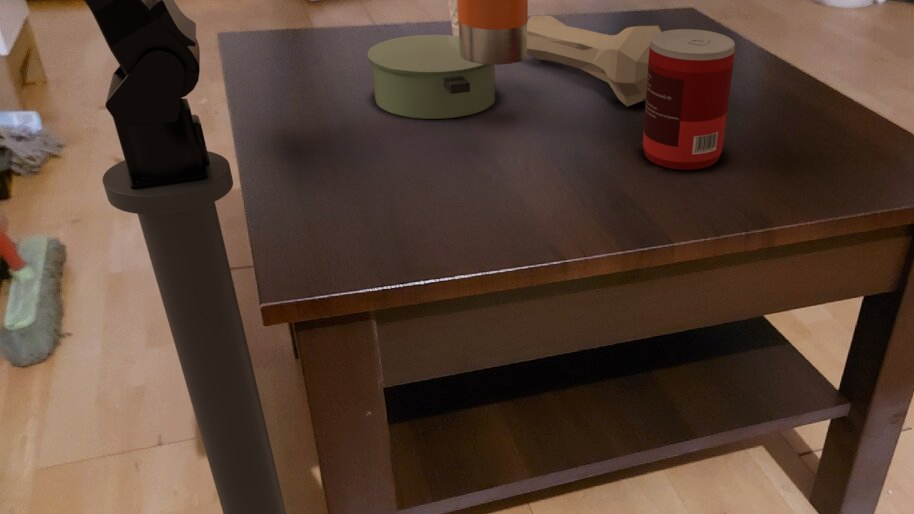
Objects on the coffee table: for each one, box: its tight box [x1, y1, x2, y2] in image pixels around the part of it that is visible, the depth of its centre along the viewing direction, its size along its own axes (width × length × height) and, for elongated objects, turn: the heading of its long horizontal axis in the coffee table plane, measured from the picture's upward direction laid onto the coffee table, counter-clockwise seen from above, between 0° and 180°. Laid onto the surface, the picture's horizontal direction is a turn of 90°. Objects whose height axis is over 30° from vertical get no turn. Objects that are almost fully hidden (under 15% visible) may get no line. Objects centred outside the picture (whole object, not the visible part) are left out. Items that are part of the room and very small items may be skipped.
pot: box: [366, 34, 496, 120], centre depth 94 cm, size 14×17×5 cm
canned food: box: [642, 28, 736, 171], centre depth 82 cm, size 8×8×11 cm
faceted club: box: [527, 15, 663, 108], centre depth 101 cm, size 9×8×25 cm
